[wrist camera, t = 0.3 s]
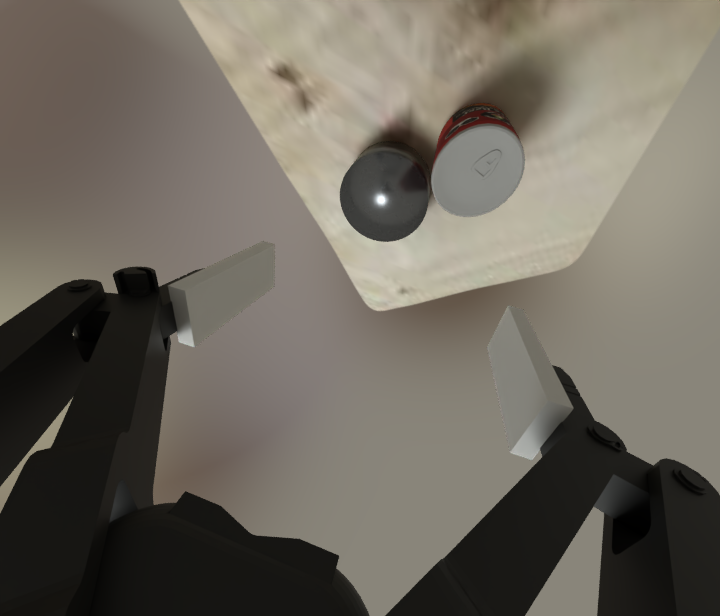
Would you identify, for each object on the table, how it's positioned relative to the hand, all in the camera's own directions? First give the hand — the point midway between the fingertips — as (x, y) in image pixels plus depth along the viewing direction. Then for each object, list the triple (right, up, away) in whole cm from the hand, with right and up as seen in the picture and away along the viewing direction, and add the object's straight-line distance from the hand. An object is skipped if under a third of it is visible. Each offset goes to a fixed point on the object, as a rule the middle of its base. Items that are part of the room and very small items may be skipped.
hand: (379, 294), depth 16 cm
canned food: (+12, +19, +17) cm, 28 cm away
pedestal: (+3, +16, +23) cm, 28 cm away
